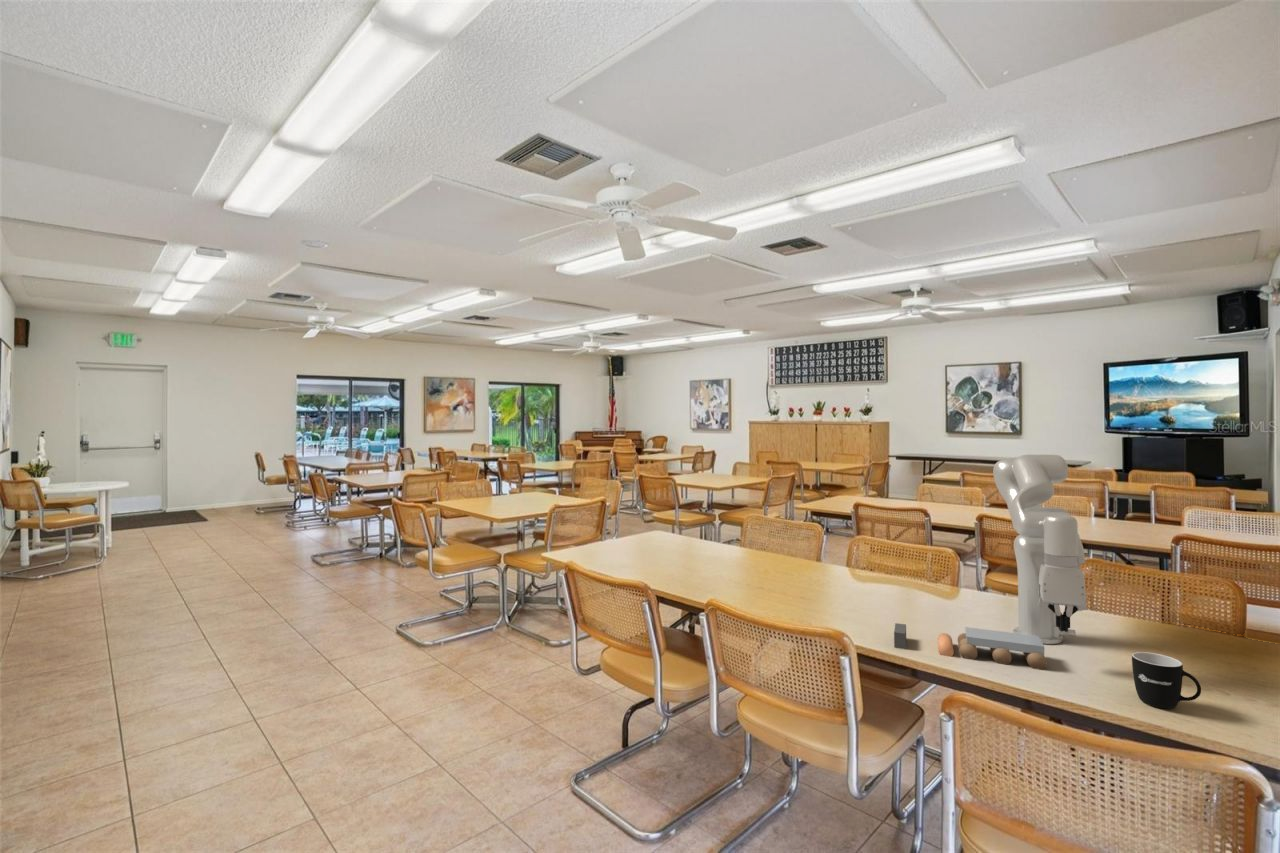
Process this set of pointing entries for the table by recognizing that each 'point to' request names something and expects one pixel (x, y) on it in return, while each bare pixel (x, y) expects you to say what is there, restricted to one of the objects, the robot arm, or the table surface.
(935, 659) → the table surface
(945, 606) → the table surface
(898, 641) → the block
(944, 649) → the roller
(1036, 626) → the robot arm
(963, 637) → the roller
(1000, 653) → the roller mid
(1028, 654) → the roller
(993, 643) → the slab
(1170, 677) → the mug
